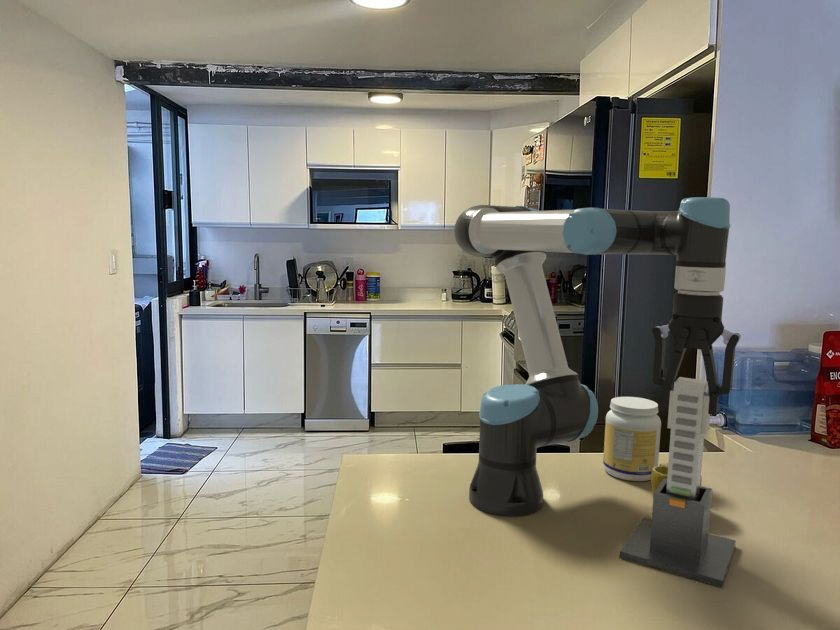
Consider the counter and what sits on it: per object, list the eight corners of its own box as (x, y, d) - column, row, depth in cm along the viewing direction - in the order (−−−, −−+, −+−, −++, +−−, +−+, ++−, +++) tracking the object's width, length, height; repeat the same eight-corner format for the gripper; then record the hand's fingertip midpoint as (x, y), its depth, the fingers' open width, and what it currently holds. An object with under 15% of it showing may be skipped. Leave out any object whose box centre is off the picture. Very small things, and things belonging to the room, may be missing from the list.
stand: (619, 557, 107) (623, 495, 106) (642, 522, 120) (646, 466, 119) (722, 588, 98) (728, 520, 97) (735, 546, 112) (740, 486, 110)
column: (664, 508, 107) (673, 382, 104) (670, 498, 111) (679, 377, 109) (693, 515, 105) (703, 386, 102) (698, 504, 109) (708, 380, 106)
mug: (716, 515, 120) (700, 463, 121) (661, 525, 122) (646, 474, 124) (704, 501, 132) (690, 454, 133) (654, 511, 134) (641, 464, 135)
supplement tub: (612, 459, 154) (616, 392, 152) (663, 471, 147) (668, 401, 145) (594, 474, 145) (598, 403, 142) (648, 487, 138) (653, 412, 135)
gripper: (637, 290, 105) (629, 425, 108) (756, 298, 96) (743, 445, 99) (648, 287, 111) (640, 415, 114) (761, 294, 102) (748, 433, 105)
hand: (687, 429), depth 106 cm, fingers closed on column, 5 cm apart
